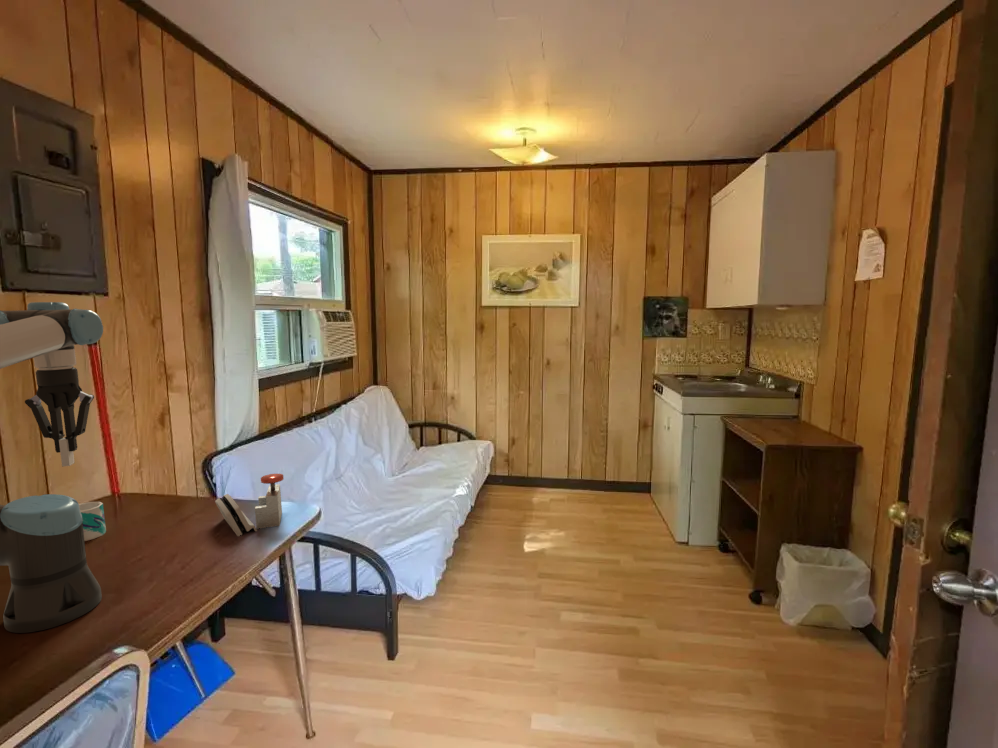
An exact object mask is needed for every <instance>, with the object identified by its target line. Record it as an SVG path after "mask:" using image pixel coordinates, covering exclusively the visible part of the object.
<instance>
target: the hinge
mask: <svg viewBox="0 0 998 748" xmlns="http://www.w3.org/2000/svg"><path fill="white" fill-rule="evenodd" d="M214 502H215V505H216V507H217V508H218V510H219V512H220V513H221V515H222V517H223V519H224V520H225V522H226V523H227V524H228V526H229V527H230V529H232V531H233V532H234V533H235V535H236V537H241V536H242V535H243V533H244V532H250V530H252V529H253V531H254V532H258V529H256V525H255V524H254V523H253V521H251V520H250V518H249V517H247V515H246V514H245V513H244V511H242V510H241V508H240V506H239V505H238V504H237V503H236V501H235V500H234V499H233V497H232V496H231V495H230V494H229V493H227V494H223V496H222V497H218V498H217V499H216V500H214ZM240 535H241V536H240Z"/></svg>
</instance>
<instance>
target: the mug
mask: <svg viewBox="0 0 998 748" xmlns="http://www.w3.org/2000/svg"><path fill="white" fill-rule="evenodd" d="M78 504H79V508H80V513H81V514H82V518H83V520H82V522H83V532H84V542H86V541H90V540H91V541H92V540H94V539H96V538H99V537H102V536H104V535H105V534H106V532H107V527H106V519H105V511H104V503H103V502H101V501H87V502H82V503H78Z"/></svg>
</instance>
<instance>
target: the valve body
mask: <svg viewBox="0 0 998 748" xmlns="http://www.w3.org/2000/svg"><path fill="white" fill-rule="evenodd" d="M283 480H284V474H283V473H270V474H266V475H263V476H261V477H260V483H262V484H265V485H266V484H267V485H268V484H270V485H268V488H267V491H266V495H261V496H258V498H257V499H258V500H257V501H258V505H256V506H254V515H255V527H256V529H257V530H260V529H267V528H274V527H280V526H281V519H282V515H283V509H282V506H283V505H282V497H281V496H282V495H281V484H280V483H279V482H282V481H283ZM276 483H279V484H276ZM266 527H267V528H266ZM259 528H260V529H259Z"/></svg>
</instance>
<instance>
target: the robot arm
mask: <svg viewBox="0 0 998 748" xmlns="http://www.w3.org/2000/svg"><path fill="white" fill-rule="evenodd" d="M26 308H27V309H25V310H22V309H20V310H18V309H17V310H16V309H15V310H0V370H1V369H4V368H7V367H10V366H12V365H16V364H19V363H22V362H24V361H27V360H30V359H33V362H34V367H35V368H36V369H37V370H36V371H35V378H36V385H37V390H36V392H35V395H34V396H32V397H31V398H27V399H25V400H24V404H25V405H26V406H27V407H28V408H29V409H31V412H32V414H33V416H34V418H35V421H36V423H37V426H38V427H39V430H40V433H41V434H42V437H43V438H45V439H53V443H54V450H55V452H56V453H60V462H61V467H70V466H72V465H73V464H75V456H74V455H75V454H74V452H75V451H76V450H78V443H77V437H78V436H80V435H83V434H84V433H85V432H86V431H87V422H88V419H89V418H88V417H89V414H90V413H89V412H90V407H91V404H92V402H93V400H94V399H95V395H93V394H92V393H90V394H88V393H86V392H85V391H83V389H82V388H81V386H80V382H79V381H80V380H79V373H78V368H77V367H74V366H76V365H77V358H76V357H77V356H76V349H75V345H79V346H84V345H85V346H86V345H91V344H92V345H93V344H95V343H97V342H98V341H100V339H101V338H102V336H103V335H104V334H103V333H104V326H103V322H102V321H103V320H102V319H101V317H100V316H99V315H98V314H97V312H95V311H93V310H90V309H83V308H82V309H81V308H70V306H69V305H68V304H67V303H66V302H63V301H61V302H60V301H54V302H53V301H36V302H35V301H31V302H28V304H27V307H26ZM78 399H79V400H78ZM77 400H78V401H79V402H80V404H79V406H78V407H79V408H78V412H77V413H78V414H77V418H75V417H76V416H75V403H76V401H77ZM42 402H43V403H44V404H45V405H46V406H47V411H48V412H49V418H50V419H49V418H48V415H47V413H46V411H45V408H44V406H43V405H42ZM62 415H63V417H62ZM63 421H64V422H63ZM63 423H64V425H63ZM64 431H65V434H64ZM79 504H80V503H79V502H78V501H77V500H76V499H75V498H73V497H72V496H68V495H64V494H52V493H51V494H42V495H30V496H25V497H20V498H18V499H14V500H12V501H10V502H8V503H6V504H4V505H3V504H0V566H1V567H2V566H8V570H9V577H10V589H9V593H8V597H7V600H6V604H5V608H4V609H3V610H4V611H3V614H2V616H3V617H2V618H3V626H4V629H5V630H6V631H8V632H9V633H16V634H19V633H20V634H24V633H25V634H26V633H33V632H39V631H43V630H48V629H52V628H56V627H58V626H62V625H64V624H67V623H69V622H71V621H74V620H76V619H78V618H80V617H82V616H83V615H86V614H87V613H89V612H91V611H92V610H93V609H95V608H96V607H97V606H98V605H99V604H100V603H101V601H102V598H103V595H102V588H101V586H100V583H99V582H98V579H96V577H95V576H94V574H93V571H91V569H90V567H89V566H88V561H87V553H86V544H85V542H86V541H84V532H83V522H82V520H83V518H82V514H81V513H80V508H79Z"/></svg>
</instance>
